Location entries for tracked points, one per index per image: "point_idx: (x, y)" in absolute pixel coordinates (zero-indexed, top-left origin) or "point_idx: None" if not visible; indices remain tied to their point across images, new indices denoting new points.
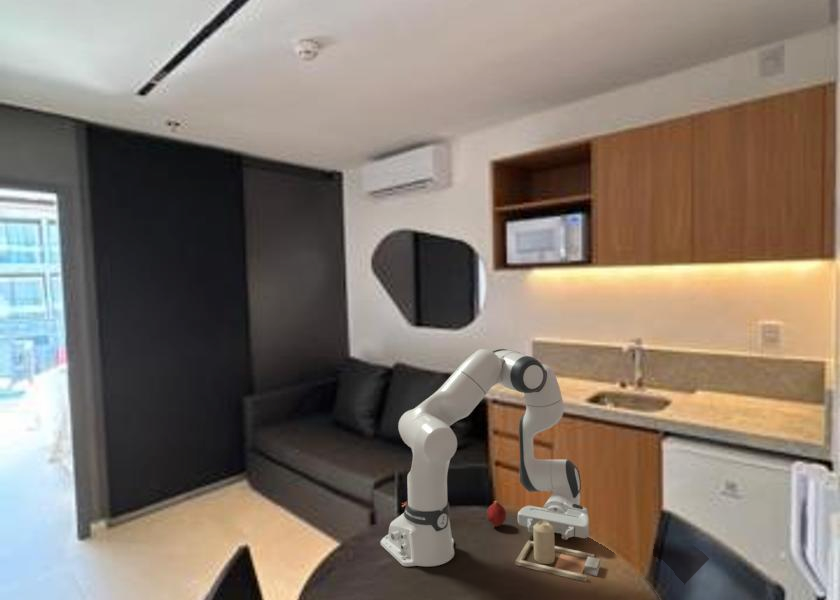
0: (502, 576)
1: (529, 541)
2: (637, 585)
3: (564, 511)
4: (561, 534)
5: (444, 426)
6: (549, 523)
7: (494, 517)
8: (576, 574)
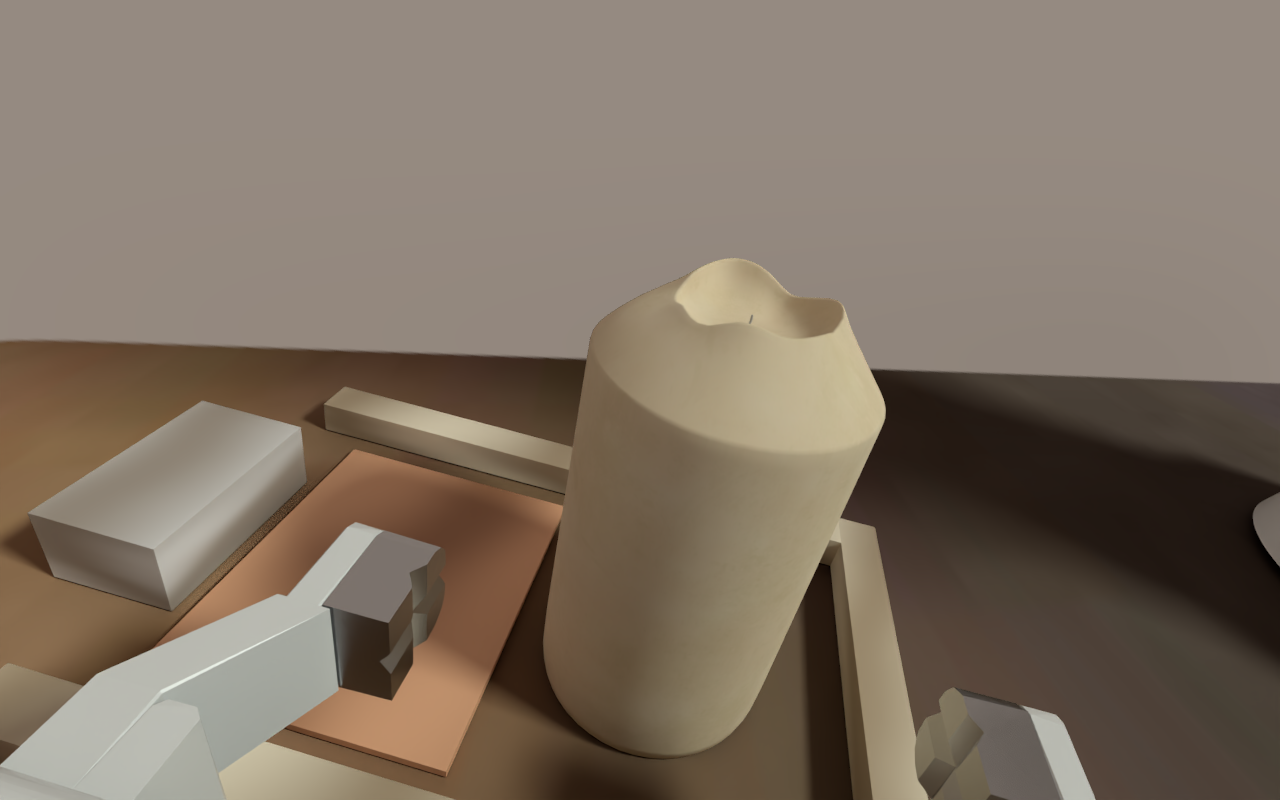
0: (876, 450)
1: None
2: None
3: None
4: (444, 556)
5: None
6: (671, 330)
7: None
8: (404, 412)
